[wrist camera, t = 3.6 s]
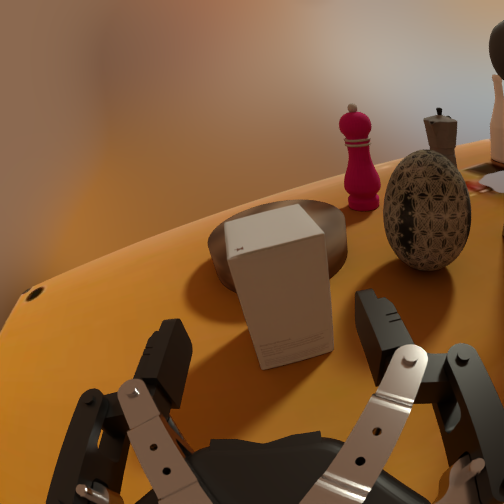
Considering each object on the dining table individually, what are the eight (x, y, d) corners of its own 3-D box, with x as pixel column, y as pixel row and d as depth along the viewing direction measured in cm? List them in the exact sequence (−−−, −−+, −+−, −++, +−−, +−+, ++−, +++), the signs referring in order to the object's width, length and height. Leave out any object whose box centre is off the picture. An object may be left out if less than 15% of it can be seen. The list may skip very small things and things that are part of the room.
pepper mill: (359, 215, 49) (345, 105, 40) (339, 204, 56) (325, 105, 46) (388, 206, 50) (379, 102, 41) (368, 196, 56) (356, 102, 47)
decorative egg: (366, 270, 35) (359, 154, 28) (407, 234, 40) (404, 139, 33) (444, 303, 26) (460, 170, 19) (472, 257, 31) (482, 150, 24)
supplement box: (335, 351, 25) (327, 233, 19) (260, 372, 25) (223, 259, 19) (314, 305, 32) (300, 201, 26) (251, 322, 32) (221, 220, 26)
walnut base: (370, 238, 42) (368, 208, 39) (288, 318, 31) (281, 282, 29) (276, 219, 56) (271, 195, 53) (193, 270, 45) (183, 243, 43)
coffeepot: (451, 189, 51) (448, 110, 43) (417, 181, 59) (411, 107, 50) (467, 174, 57) (464, 108, 49) (438, 168, 65) (434, 105, 56)
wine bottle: (518, 164, 58) (513, 77, 44) (501, 164, 60) (495, 73, 46) (503, 157, 66) (497, 76, 52) (486, 157, 68) (479, 73, 54)
